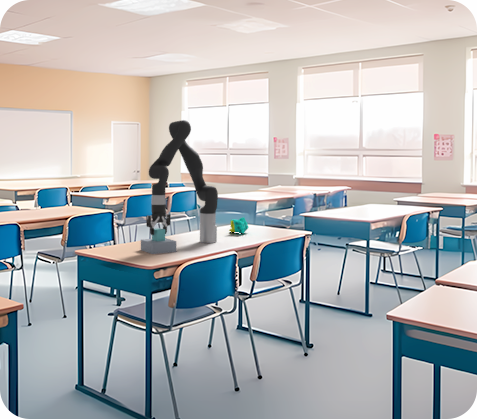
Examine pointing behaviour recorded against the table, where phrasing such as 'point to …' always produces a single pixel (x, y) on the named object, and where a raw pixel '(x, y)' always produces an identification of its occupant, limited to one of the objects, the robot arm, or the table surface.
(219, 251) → the table surface
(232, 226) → the teal lumpy shape
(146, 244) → the slate block
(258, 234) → the table surface
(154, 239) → the teal block
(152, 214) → the robot arm
